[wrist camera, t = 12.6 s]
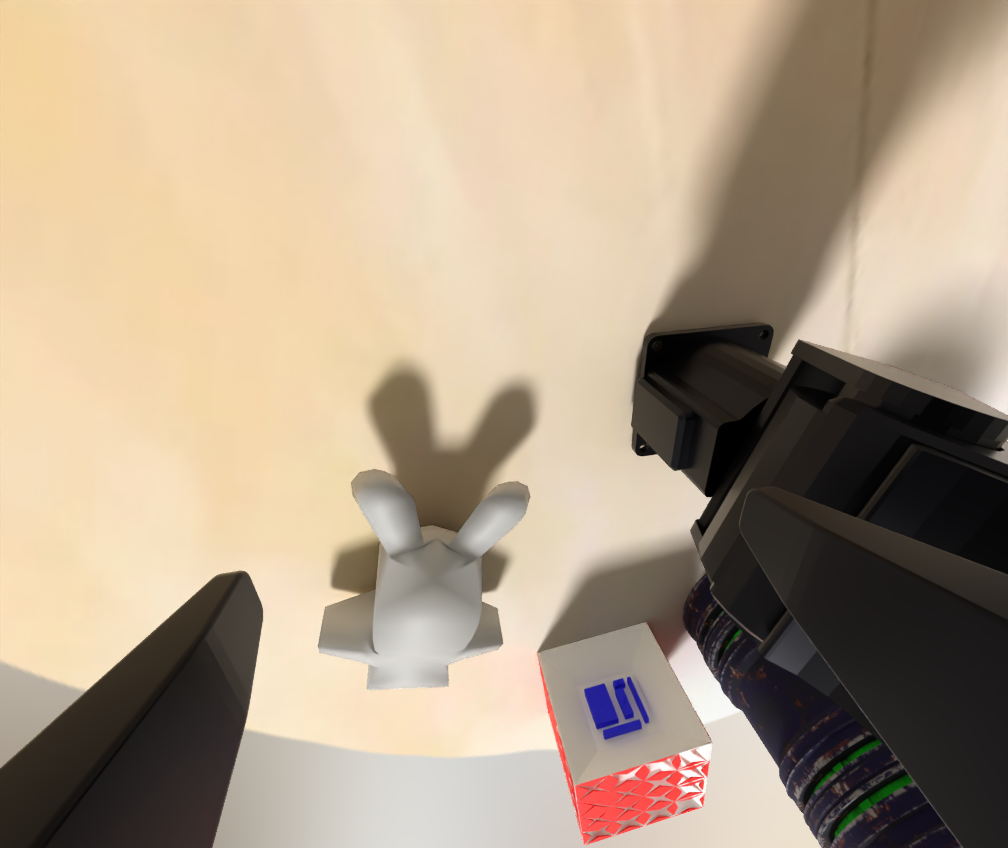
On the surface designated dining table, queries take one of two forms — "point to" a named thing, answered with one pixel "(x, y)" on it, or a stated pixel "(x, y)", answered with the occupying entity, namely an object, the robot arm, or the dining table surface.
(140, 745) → the robot arm
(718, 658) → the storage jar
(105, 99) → the dining table surface
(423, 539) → the grey figurine
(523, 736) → the dining table surface
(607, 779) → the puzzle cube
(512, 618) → the dining table surface
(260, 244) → the dining table surface
